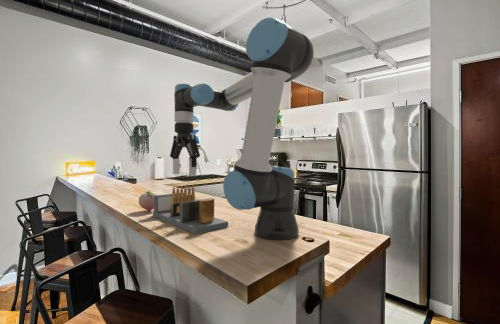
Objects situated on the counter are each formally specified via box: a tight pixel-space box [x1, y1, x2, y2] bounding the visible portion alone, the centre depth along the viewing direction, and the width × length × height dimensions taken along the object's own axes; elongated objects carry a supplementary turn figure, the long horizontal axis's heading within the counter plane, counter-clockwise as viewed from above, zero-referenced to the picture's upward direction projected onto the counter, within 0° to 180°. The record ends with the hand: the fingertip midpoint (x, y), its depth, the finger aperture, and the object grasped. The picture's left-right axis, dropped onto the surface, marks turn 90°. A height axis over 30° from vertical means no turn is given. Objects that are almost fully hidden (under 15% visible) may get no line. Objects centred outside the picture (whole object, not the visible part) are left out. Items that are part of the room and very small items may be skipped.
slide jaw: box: [180, 198, 215, 223], centre depth 98 cm, size 8×14×8 cm, turn 133°
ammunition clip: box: [171, 184, 196, 217], centre depth 108 cm, size 11×2×12 cm, turn 133°
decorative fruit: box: [138, 191, 157, 212], centre depth 122 cm, size 9×8×10 cm
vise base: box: [152, 192, 229, 235], centre depth 106 cm, size 35×14×9 cm, turn 43°
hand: (184, 174), depth 108 cm, fingers open, 13 cm apart
